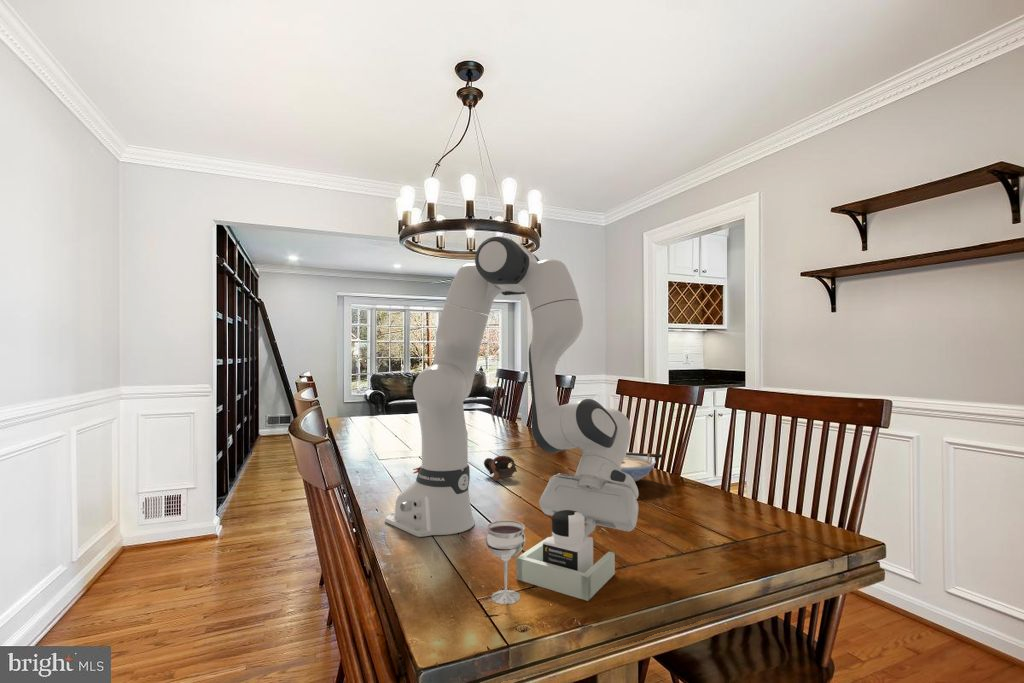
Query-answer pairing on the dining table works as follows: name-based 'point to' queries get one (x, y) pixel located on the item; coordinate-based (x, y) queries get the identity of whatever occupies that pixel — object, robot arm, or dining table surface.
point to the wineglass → (505, 551)
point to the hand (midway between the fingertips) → (576, 541)
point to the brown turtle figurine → (500, 467)
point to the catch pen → (564, 574)
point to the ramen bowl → (638, 464)
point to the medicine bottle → (569, 542)
